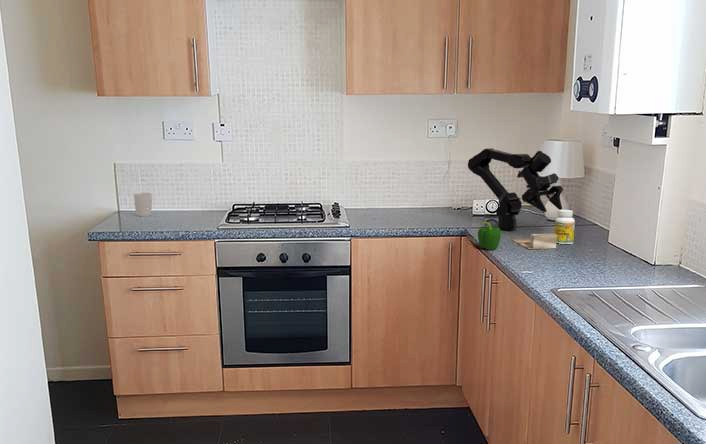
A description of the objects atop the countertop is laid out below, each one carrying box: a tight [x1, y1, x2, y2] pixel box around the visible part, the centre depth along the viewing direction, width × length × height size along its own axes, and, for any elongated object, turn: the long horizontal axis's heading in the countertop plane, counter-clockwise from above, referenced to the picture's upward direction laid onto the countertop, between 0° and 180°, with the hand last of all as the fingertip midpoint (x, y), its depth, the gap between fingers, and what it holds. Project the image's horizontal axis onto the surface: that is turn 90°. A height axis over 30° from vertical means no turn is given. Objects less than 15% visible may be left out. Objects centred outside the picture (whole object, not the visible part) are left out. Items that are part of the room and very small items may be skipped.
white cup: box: [133, 192, 153, 217], centre depth 286 cm, size 8×8×10 cm
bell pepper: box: [477, 221, 502, 251], centre depth 227 cm, size 8×8×10 cm
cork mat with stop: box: [511, 233, 557, 250], centre depth 234 cm, size 16×12×5 cm
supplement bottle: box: [553, 209, 576, 245], centre depth 236 cm, size 7×7×13 cm
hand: (553, 210), depth 240 cm, fingers open, 9 cm apart
